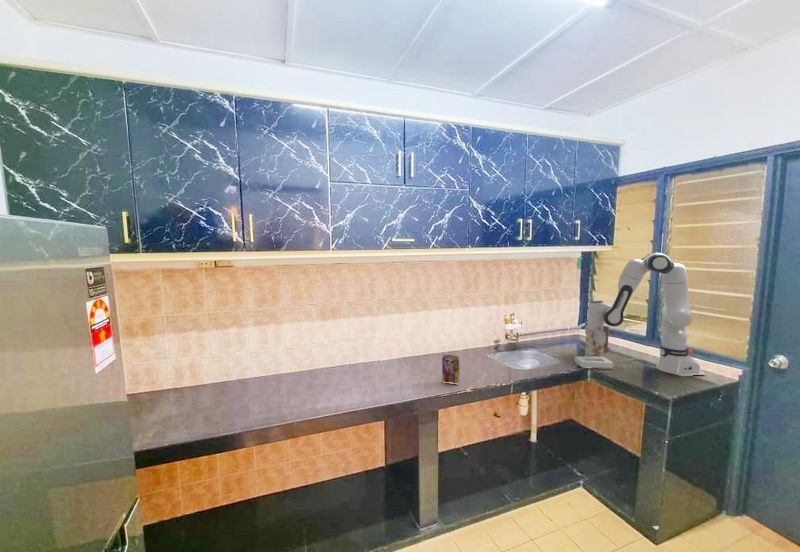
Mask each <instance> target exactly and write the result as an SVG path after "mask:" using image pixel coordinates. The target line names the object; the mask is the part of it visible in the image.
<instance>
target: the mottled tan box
mask: <svg viewBox="0 0 800 552" xmlns="http://www.w3.org/2000/svg"><path fill="white" fill-rule="evenodd" d="M593 335H594V332H593V331H586V334H585V346H584V347H585V348H584V349H585V351H584V356H585V357H604V353H605V352H604V344H599V345H598V348H596V347H594V344H595V341H594V340H593Z"/></svg>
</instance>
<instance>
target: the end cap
mask: <svg viewBox="0 0 800 552" xmlns="http://www.w3.org/2000/svg"><path fill="white" fill-rule="evenodd" d="M575 362H576V363H577V364H578V365H580V366H581V367H592V368H601V369H600V370H614V362H613V361H611V360H610V359H608V358H607V357H606V356H605V357H604V356H580V355H579V356H577V355H575V356H574V363H575ZM576 363H575V364H576ZM577 364H576V365H577ZM578 365H577V366H578Z"/></svg>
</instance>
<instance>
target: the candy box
mask: <svg viewBox="0 0 800 552" xmlns="http://www.w3.org/2000/svg"><path fill="white" fill-rule="evenodd" d="M460 359H461V358H460V355H454V354H442V358H441V360H442V362H441V363H442V364H441V365H442V366H441V369H442V374H441V375H442V376H441V377H442V378H441V381H444V382H453V383H458V382H459V383H460Z"/></svg>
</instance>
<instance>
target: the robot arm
mask: <svg viewBox="0 0 800 552" xmlns="http://www.w3.org/2000/svg"><path fill="white" fill-rule="evenodd" d="M648 272H655V273H660V274H661V275H662V283H663V284H662V285H663V297H664V298H663V299H664V303H665V306H664V307H663V308H662V310H661V315H662V317H661V320H662V321H661V325H662V326H661V327H662V337H661V345H660V346H659V347H660V349H659V353H660V354H659V359H658V362H657V364H656V366H655V368H656V369H657V370H658V371H661V372H664V373H668V374H672V375H676V376H679V377H694V376H693V375H704V376H706V373H705V372H704V371H703V370H701V367H700V363H699V362H698V361H697V360H696V359H694V358H693V357H691V356H690V355H692V354H694V351H693V350H692V349H687V348H686V347H687V338H688V335H687V329H686V327H688V326H690V325H691V324H692V323H693V316H692V310H691V305H690V304H691V303H690V298H689V283H688V281H689V280H688V272H687V269H686V266H684V265H683V264H681V263H677V262H673V261H672V260H671V258H670V257H669V256H668V255H666V254H664V253H661V252H654V253H653V252H652V253H649V254H647V255H645V257H643V258H641V259H640V258H639V259H638V258H633V259H630V260H629V261H628V262H627V264H625V266H624V268H623V270H622V271H621V274H620V275H619V279H618V281H617V296H616V298H615V300H614V301H613V302H614V303H613V304H612V305H610V304H607V303H606V302H604V301H603V300H594V301H592V302H590V303H589V306H588V319H587V321H585V322H584V326H585V327H584V333H585V335H586V331H593V332H594V335H593V340H594V341H595V344H594V347H596V348H598V345H599V344H605V343H606V335H605V332H604V331H603V329H604V326H605V324H606V326H609V327H618V326H621V325H622V324H623V323H624V312H625V309H626V307H627V305H628V303H629V301H630V299H631V296H633V294H634V292H635V291H636V290H637V289H638V288H639V286H640V285H641V282H642V280H643V279H644V276H645V275H646V274H647V273H648Z"/></svg>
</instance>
